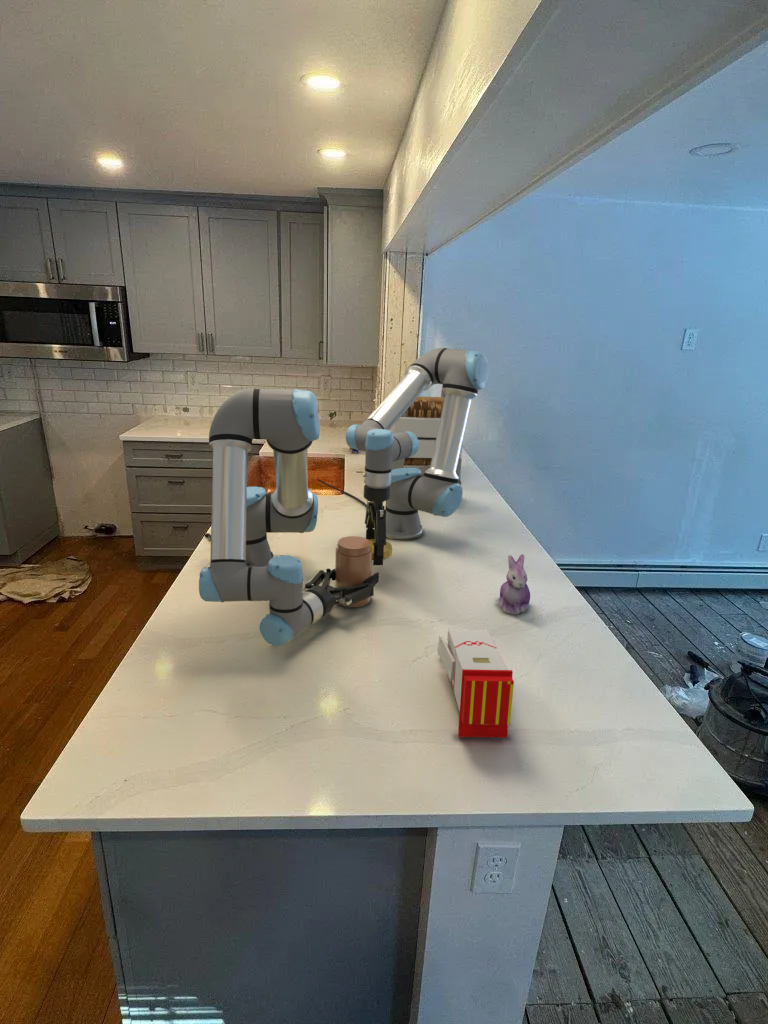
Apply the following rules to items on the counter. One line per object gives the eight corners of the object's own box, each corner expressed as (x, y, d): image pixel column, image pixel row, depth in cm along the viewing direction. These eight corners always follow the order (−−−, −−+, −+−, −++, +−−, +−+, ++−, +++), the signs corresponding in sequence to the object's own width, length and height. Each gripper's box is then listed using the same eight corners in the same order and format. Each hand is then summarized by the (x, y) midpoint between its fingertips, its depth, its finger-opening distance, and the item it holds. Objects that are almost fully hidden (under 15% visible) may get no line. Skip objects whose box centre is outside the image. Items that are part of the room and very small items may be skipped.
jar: (339, 609, 149) (341, 551, 143) (331, 592, 157) (331, 537, 151) (374, 604, 152) (377, 547, 146) (364, 588, 160) (366, 533, 154)
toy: (488, 613, 130) (523, 677, 101) (484, 667, 133) (517, 744, 104) (435, 612, 130) (455, 676, 101) (432, 666, 133) (451, 743, 103)
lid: (391, 547, 172) (392, 539, 171) (392, 561, 162) (392, 553, 161) (356, 545, 171) (356, 538, 171) (355, 559, 161) (355, 552, 161)
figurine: (512, 619, 147) (519, 566, 142) (488, 601, 156) (494, 551, 151) (540, 611, 151) (548, 560, 146) (515, 594, 160) (522, 546, 155)
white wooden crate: (382, 463, 289) (386, 382, 275) (445, 464, 293) (451, 384, 279) (390, 482, 257) (394, 392, 243) (460, 483, 261) (468, 394, 247)
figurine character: (361, 456, 305) (361, 447, 319) (361, 443, 302) (362, 434, 315) (348, 456, 305) (350, 446, 318) (349, 442, 302) (350, 433, 315)
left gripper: (277, 605, 144) (328, 574, 162) (350, 632, 134) (396, 595, 152) (276, 579, 141) (328, 550, 160) (351, 604, 131) (397, 570, 149)
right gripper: (356, 474, 169) (354, 542, 177) (372, 497, 148) (369, 574, 156) (381, 473, 171) (377, 541, 178) (400, 497, 150) (395, 573, 157)
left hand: (361, 572), depth 156 cm, fingers closed on jar, 10 cm apart
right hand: (373, 556), depth 167 cm, fingers closed on lid, 10 cm apart
